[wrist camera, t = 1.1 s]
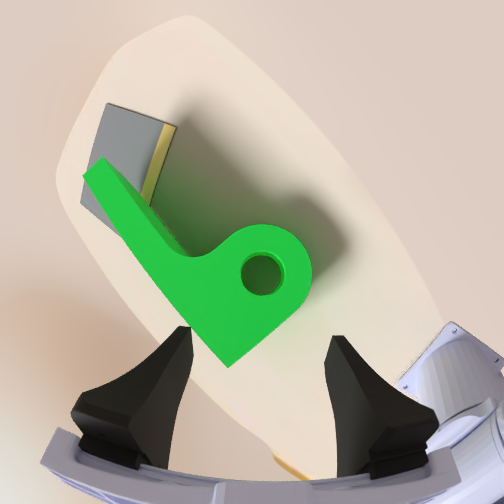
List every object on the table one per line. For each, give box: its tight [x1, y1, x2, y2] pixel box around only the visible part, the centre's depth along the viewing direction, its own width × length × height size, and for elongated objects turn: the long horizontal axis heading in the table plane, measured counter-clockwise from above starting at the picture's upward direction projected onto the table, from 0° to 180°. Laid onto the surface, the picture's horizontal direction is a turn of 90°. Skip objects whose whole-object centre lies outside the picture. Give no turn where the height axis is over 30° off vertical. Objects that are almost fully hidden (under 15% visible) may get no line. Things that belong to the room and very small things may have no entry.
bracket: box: [83, 156, 312, 368], centre depth 23 cm, size 20×10×7 cm
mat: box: [80, 104, 176, 238], centre depth 28 cm, size 13×14×1 cm
